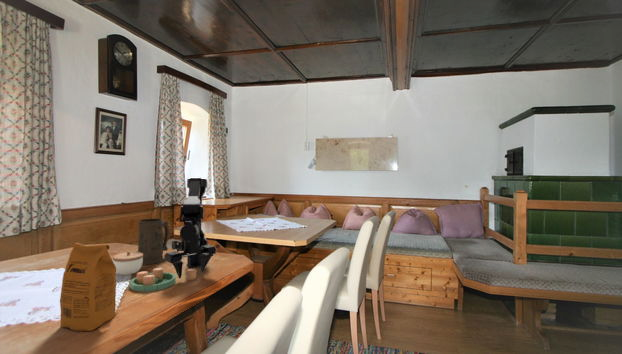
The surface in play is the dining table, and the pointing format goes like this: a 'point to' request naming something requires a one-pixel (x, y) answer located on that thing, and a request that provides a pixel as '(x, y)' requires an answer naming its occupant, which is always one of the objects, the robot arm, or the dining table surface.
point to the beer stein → (152, 240)
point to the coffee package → (88, 288)
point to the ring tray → (166, 282)
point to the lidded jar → (128, 262)
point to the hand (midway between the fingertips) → (191, 275)
